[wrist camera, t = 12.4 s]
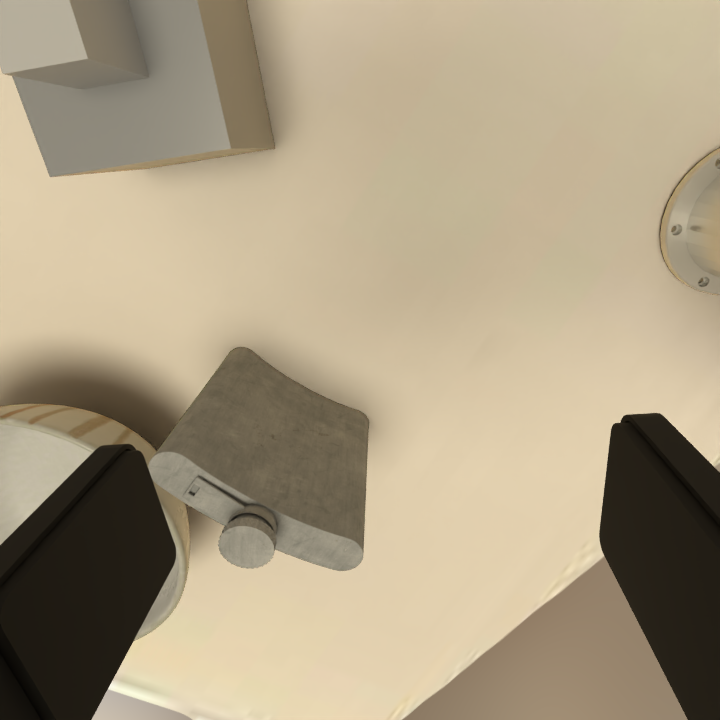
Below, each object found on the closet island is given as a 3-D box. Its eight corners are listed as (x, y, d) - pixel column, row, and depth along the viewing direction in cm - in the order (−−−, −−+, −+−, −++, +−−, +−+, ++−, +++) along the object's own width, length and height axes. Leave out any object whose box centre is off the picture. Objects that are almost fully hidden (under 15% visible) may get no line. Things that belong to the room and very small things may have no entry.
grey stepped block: (239, -37, 34) (99, -220, 17) (275, 148, 39) (193, 148, 22) (92, -8, 35) (-177, -154, 18) (145, 169, 40) (-29, 183, 23)
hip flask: (374, 419, 49) (371, 579, 31) (353, 446, 50) (339, 616, 32) (235, 341, 46) (140, 468, 28) (218, 373, 48) (117, 513, 29)
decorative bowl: (120, 310, 45) (36, 362, 34) (271, 509, 54) (243, 601, 43) (-72, 420, 51) (-196, 495, 40) (94, 583, 60) (29, 681, 49)
